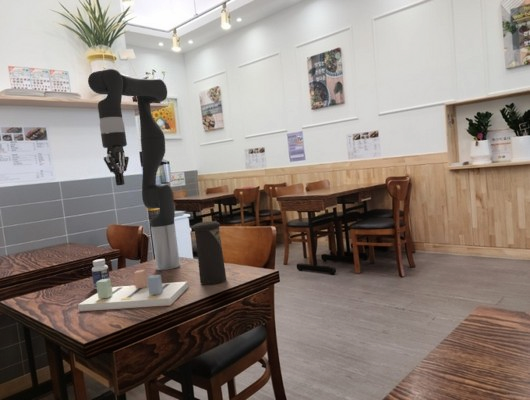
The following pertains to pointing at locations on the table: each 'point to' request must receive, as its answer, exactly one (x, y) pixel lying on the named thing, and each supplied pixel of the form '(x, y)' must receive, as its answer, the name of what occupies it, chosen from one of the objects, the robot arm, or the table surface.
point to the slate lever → (154, 284)
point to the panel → (135, 297)
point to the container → (209, 253)
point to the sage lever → (104, 288)
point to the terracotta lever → (140, 278)
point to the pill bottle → (99, 271)
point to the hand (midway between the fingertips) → (120, 185)
